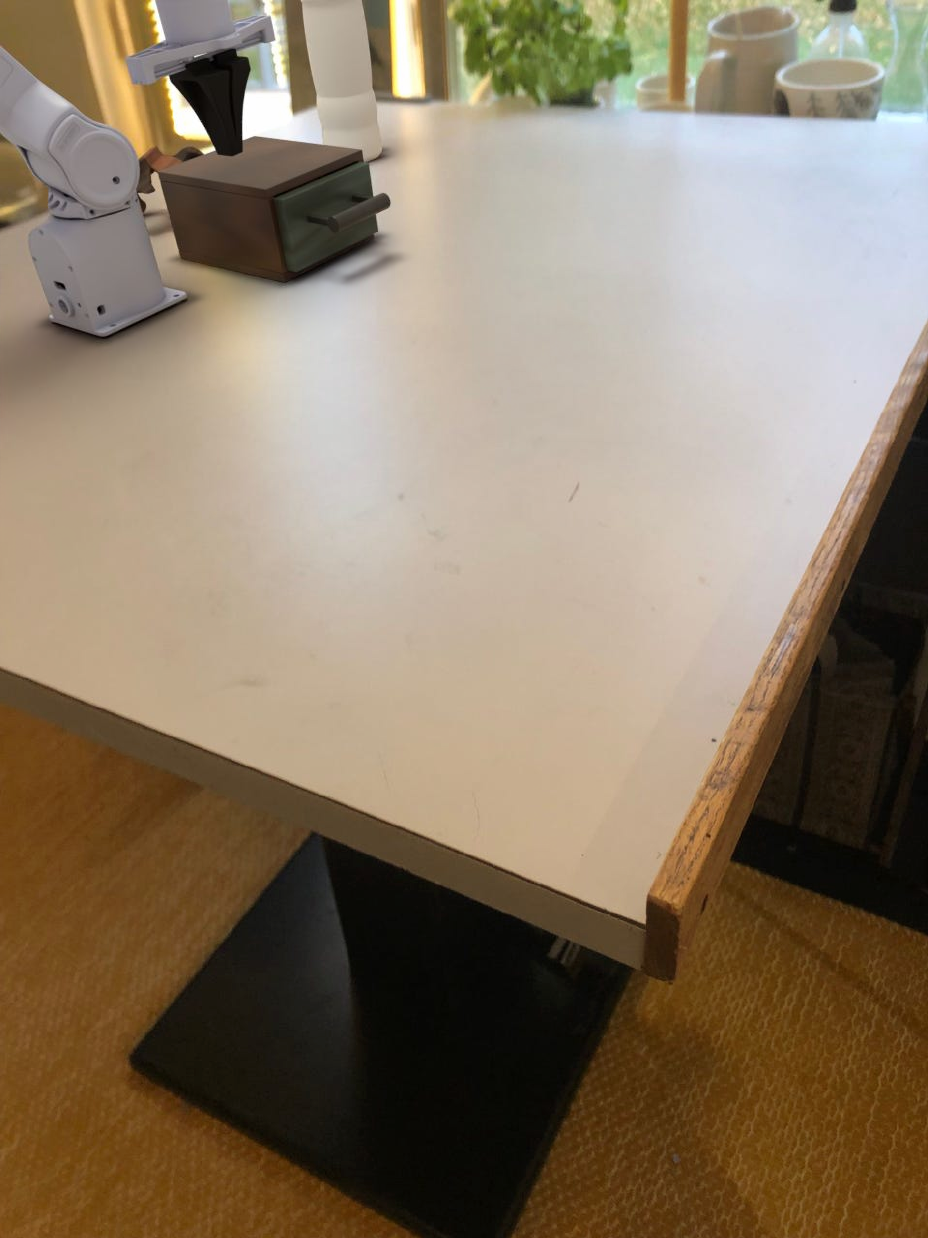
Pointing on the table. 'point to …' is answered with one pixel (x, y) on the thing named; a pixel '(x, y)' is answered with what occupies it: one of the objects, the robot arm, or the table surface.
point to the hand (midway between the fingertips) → (230, 153)
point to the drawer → (328, 215)
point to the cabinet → (244, 202)
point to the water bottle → (342, 74)
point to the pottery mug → (159, 167)
